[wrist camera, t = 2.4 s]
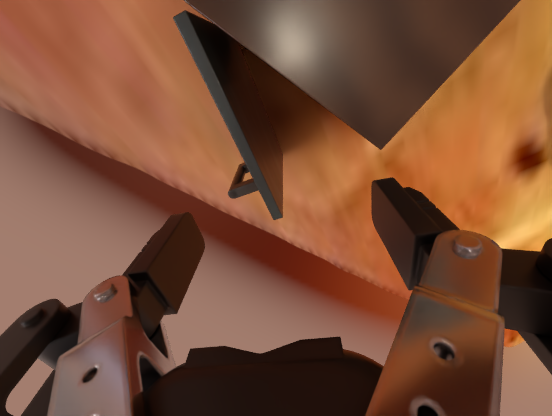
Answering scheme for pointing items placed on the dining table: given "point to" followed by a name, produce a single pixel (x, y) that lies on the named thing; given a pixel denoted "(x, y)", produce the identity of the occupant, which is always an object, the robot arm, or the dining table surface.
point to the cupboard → (361, 50)
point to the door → (237, 109)
